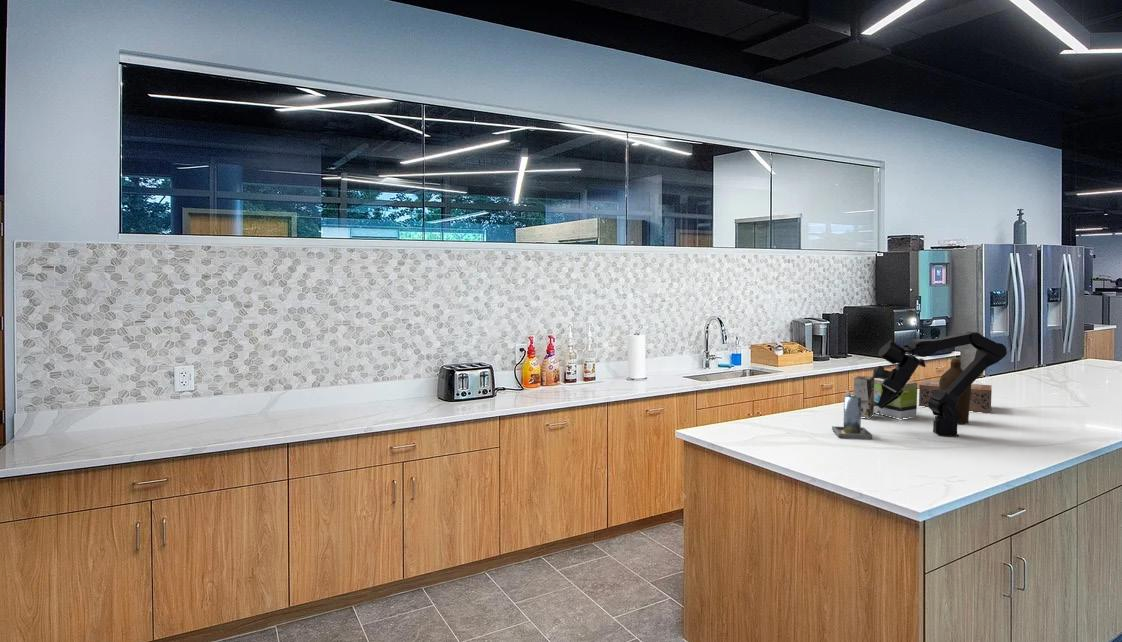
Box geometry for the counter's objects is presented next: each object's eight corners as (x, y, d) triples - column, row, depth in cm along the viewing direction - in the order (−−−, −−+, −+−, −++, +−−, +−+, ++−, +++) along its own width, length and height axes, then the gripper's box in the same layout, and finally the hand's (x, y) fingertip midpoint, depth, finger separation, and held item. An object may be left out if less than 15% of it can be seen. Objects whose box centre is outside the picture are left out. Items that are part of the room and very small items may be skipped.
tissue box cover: (990, 408, 265) (991, 385, 265) (990, 414, 253) (991, 390, 253) (921, 401, 280) (922, 380, 279) (918, 407, 268) (919, 384, 268)
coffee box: (869, 419, 246) (870, 379, 245) (852, 417, 250) (853, 378, 248) (874, 415, 253) (875, 376, 252) (857, 413, 257) (858, 375, 256)
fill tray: (863, 431, 227) (863, 427, 227) (872, 439, 216) (872, 434, 216) (831, 430, 229) (832, 426, 229) (838, 438, 218) (838, 433, 218)
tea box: (867, 413, 257) (868, 378, 256) (884, 410, 262) (884, 376, 261) (900, 420, 244) (901, 383, 243) (917, 417, 248) (918, 381, 247)
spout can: (854, 430, 226) (855, 388, 224) (863, 434, 220) (864, 390, 219) (840, 430, 225) (841, 388, 224) (848, 434, 219) (849, 391, 218)
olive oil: (964, 426, 233) (966, 360, 232) (933, 421, 241) (935, 358, 240) (974, 421, 240) (976, 358, 238) (943, 417, 248) (945, 355, 246)
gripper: (883, 362, 233) (860, 397, 235) (880, 355, 217) (856, 392, 219) (912, 378, 227) (888, 413, 229) (912, 372, 212) (886, 410, 213)
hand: (879, 407), depth 223 cm, fingers open, 9 cm apart
